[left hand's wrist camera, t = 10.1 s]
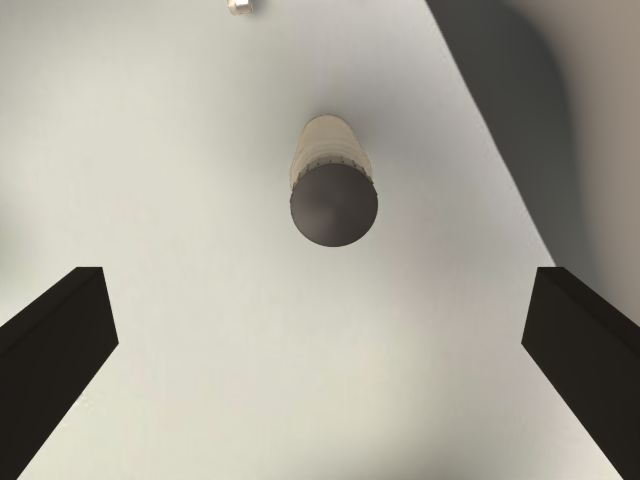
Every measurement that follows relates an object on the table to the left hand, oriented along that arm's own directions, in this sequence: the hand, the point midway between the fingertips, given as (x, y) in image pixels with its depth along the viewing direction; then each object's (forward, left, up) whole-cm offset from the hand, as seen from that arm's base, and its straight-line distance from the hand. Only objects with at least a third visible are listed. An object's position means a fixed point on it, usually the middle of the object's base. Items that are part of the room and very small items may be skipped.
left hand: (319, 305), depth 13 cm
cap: (0, -1, -9) cm, 9 cm away
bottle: (0, -1, -30) cm, 30 cm away
